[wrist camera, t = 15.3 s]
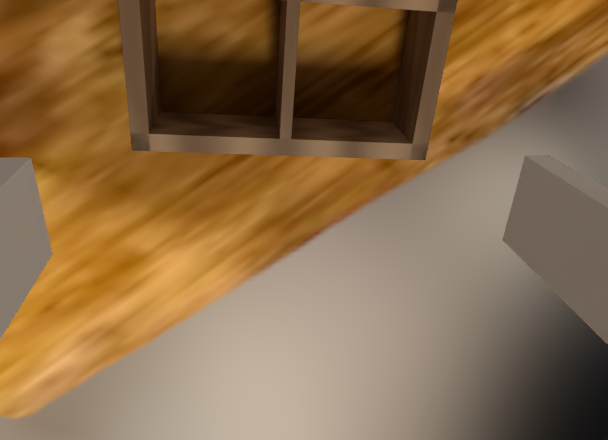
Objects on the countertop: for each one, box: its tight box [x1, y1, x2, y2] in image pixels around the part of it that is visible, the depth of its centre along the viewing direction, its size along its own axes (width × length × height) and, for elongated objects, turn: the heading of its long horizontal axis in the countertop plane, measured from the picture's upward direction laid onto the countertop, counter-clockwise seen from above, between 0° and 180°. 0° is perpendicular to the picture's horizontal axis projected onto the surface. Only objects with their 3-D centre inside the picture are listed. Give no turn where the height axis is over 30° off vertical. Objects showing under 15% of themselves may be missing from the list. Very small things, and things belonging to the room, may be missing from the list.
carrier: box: [118, 0, 457, 160], centre depth 43 cm, size 26×14×7 cm, turn 86°
